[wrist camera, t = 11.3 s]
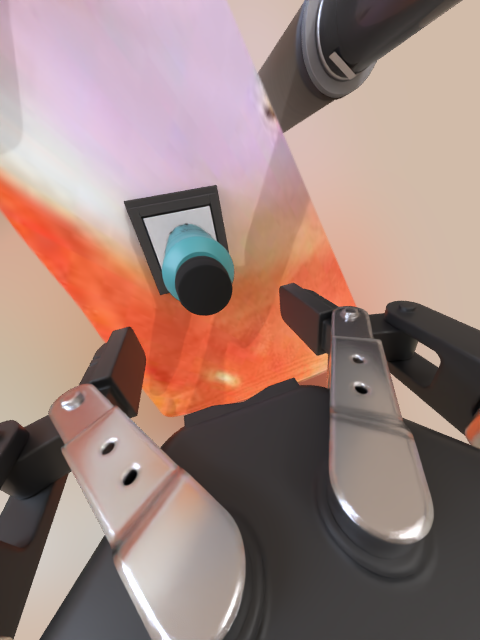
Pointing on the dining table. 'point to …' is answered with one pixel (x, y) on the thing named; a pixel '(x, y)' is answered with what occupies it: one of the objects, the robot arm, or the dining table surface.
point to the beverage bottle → (197, 270)
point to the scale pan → (167, 222)
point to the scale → (172, 204)
